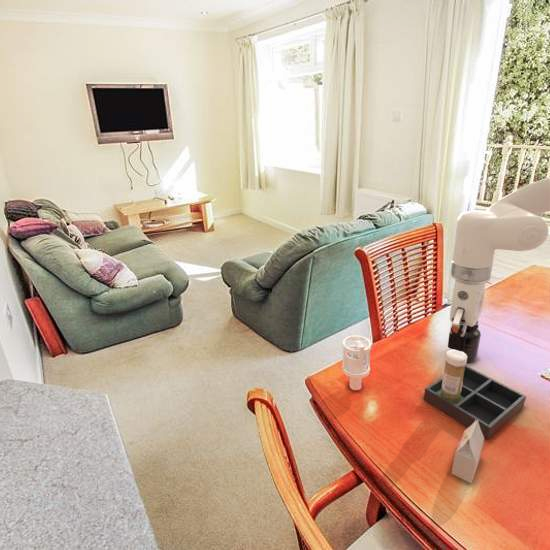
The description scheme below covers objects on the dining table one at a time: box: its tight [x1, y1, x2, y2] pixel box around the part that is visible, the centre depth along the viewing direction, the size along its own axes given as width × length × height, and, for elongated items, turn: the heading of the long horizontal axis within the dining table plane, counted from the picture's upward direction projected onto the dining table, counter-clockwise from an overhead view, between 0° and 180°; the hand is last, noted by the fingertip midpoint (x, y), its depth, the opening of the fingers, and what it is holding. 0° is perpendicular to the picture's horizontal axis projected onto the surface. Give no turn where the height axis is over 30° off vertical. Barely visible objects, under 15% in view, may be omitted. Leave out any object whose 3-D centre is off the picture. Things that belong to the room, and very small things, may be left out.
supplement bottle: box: [450, 320, 481, 364], centre depth 107 cm, size 7×7×12 cm
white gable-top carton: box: [451, 420, 485, 484], centre depth 74 cm, size 4×7×10 cm, turn 141°
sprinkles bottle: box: [440, 349, 468, 404], centre depth 90 cm, size 5×5×13 cm
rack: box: [423, 364, 527, 441], centre depth 92 cm, size 16×16×4 cm
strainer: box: [341, 334, 372, 391], centre depth 97 cm, size 7×7×15 cm
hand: (461, 338), depth 86 cm, fingers open, 9 cm apart
